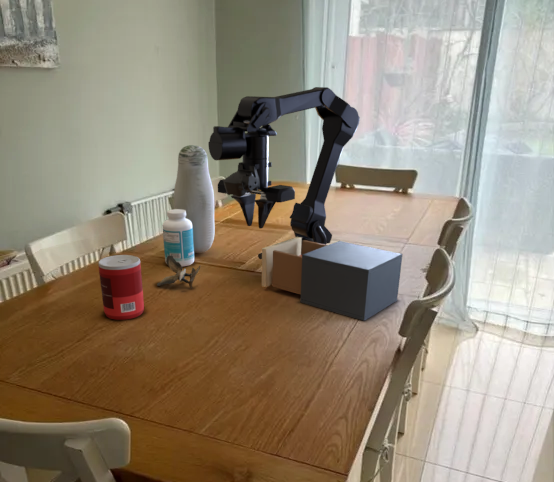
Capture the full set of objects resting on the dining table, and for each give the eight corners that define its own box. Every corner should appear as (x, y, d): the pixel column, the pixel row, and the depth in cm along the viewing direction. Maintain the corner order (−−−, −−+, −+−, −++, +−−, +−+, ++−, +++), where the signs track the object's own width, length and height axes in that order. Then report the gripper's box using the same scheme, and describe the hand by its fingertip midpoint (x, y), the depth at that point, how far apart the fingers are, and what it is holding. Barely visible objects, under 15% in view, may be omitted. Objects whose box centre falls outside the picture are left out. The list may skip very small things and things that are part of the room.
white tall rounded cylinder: (170, 252, 150) (163, 145, 138) (198, 245, 157) (193, 142, 146) (195, 259, 144) (189, 148, 133) (222, 251, 151) (220, 145, 140)
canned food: (151, 308, 113) (147, 257, 108) (130, 323, 106) (124, 268, 101) (119, 303, 115) (114, 252, 110) (96, 317, 108) (89, 263, 104)
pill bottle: (189, 257, 146) (187, 206, 140) (198, 265, 140) (195, 212, 134) (161, 261, 143) (158, 209, 137) (169, 269, 137) (165, 215, 131)
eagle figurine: (203, 276, 128) (169, 265, 130) (199, 257, 122) (163, 245, 124) (188, 301, 125) (153, 289, 126) (184, 283, 119) (147, 271, 120)
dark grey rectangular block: (300, 302, 117) (302, 254, 113) (336, 284, 128) (339, 240, 124) (364, 321, 109) (368, 270, 105) (397, 300, 120) (402, 253, 115)
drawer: (247, 282, 126) (247, 244, 122) (282, 268, 136) (283, 233, 132) (314, 301, 116) (316, 261, 112) (347, 285, 125) (350, 247, 122)
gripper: (199, 157, 121) (202, 226, 128) (265, 165, 111) (264, 240, 117) (233, 153, 129) (234, 218, 136) (297, 160, 119) (295, 231, 125)
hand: (255, 227), depth 128 cm, fingers open, 3 cm apart
